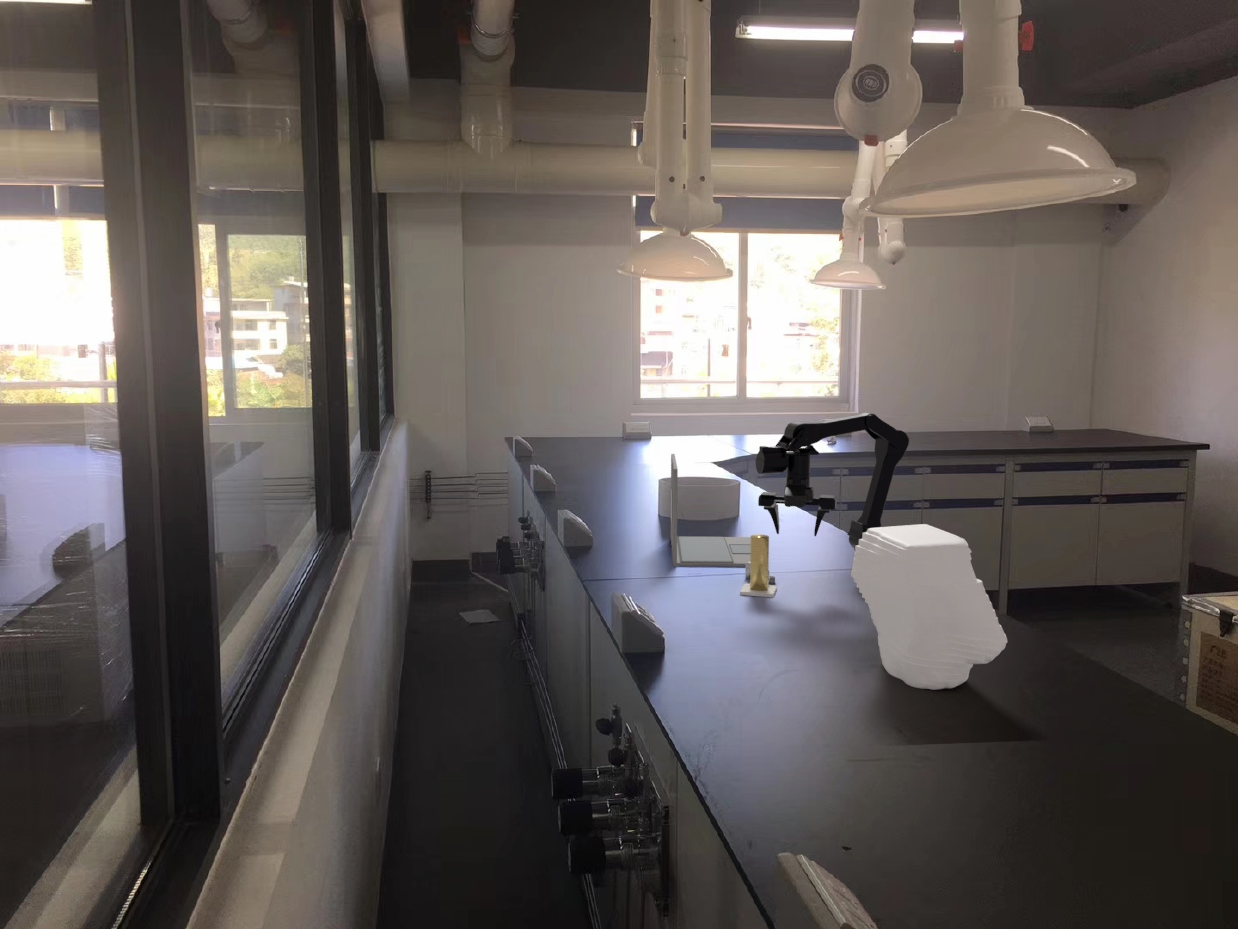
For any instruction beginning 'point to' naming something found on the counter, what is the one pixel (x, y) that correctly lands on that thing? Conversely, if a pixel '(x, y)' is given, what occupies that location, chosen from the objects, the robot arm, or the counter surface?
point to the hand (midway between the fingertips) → (796, 534)
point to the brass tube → (759, 562)
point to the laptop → (704, 541)
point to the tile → (766, 593)
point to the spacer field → (747, 575)
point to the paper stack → (926, 604)
